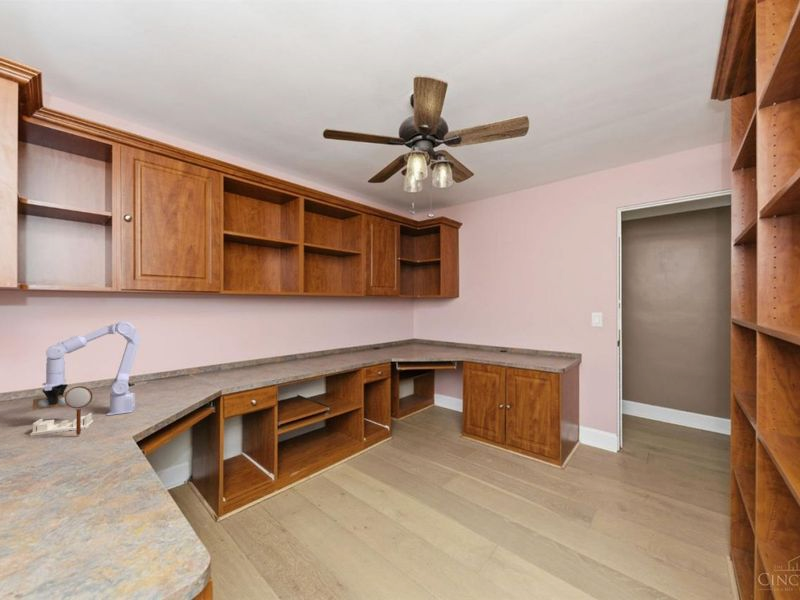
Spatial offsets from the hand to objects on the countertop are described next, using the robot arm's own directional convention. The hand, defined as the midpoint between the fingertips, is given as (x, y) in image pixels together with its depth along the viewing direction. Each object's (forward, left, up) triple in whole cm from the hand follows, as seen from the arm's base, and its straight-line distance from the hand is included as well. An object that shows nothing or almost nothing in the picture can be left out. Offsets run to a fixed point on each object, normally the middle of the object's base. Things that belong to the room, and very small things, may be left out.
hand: (55, 403), depth 148 cm
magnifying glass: (-15, +24, -9) cm, 30 cm away
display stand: (-6, +10, -9) cm, 15 cm away
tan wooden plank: (0, 0, -2) cm, 2 cm away
